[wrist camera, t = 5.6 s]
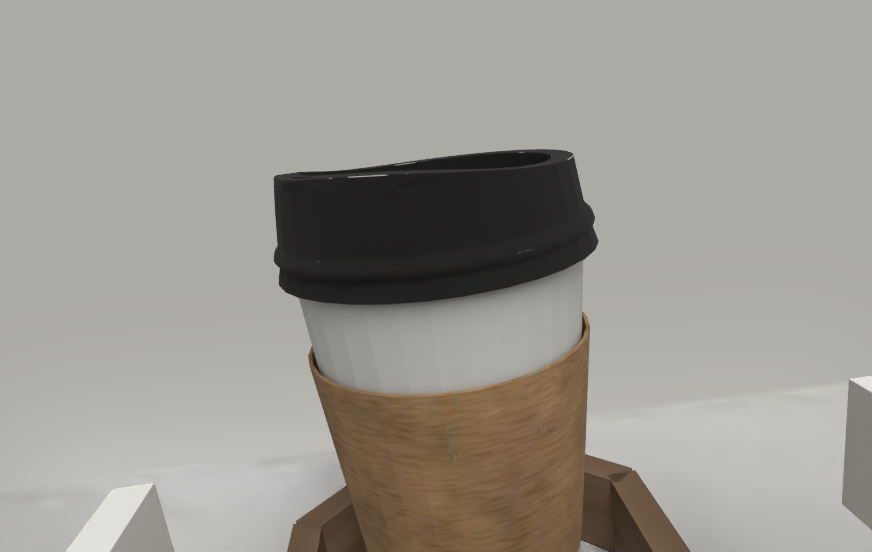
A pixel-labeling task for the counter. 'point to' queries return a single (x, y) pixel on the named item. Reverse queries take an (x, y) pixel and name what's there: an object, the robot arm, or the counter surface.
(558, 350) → the coffee cup
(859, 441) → the robot arm
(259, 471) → the counter surface
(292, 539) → the cup cradle
